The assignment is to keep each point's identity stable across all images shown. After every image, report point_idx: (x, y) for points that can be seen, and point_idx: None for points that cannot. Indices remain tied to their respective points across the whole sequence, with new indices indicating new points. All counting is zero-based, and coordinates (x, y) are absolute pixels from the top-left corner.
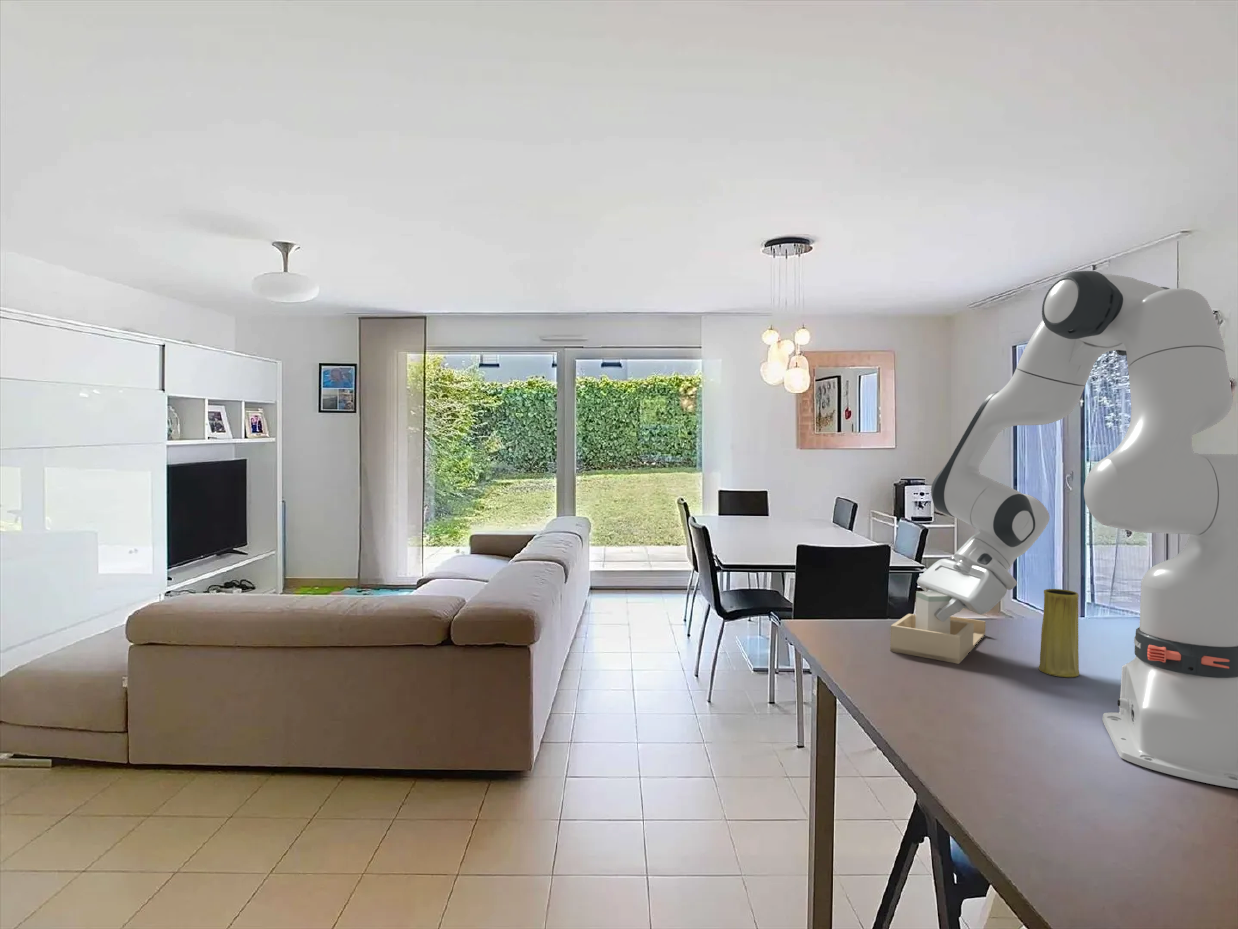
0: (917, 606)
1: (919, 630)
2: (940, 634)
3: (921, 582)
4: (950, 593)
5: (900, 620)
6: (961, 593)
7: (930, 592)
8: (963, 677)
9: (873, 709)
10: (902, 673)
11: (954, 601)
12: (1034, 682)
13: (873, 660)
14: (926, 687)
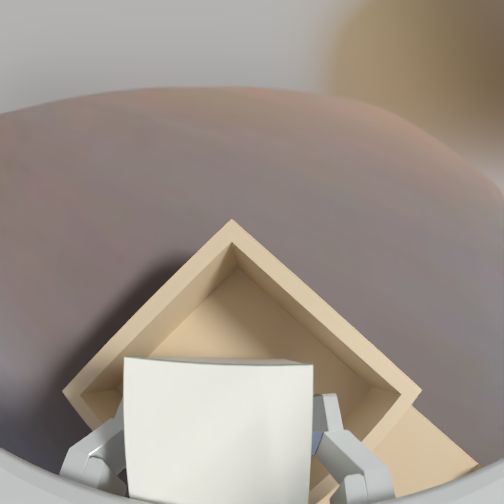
0: (280, 362)
1: (150, 298)
2: (100, 351)
3: (488, 473)
4: (93, 497)
5: (313, 300)
6: (6, 480)
7: (263, 459)
8: (32, 322)
9: (12, 119)
10: (79, 202)
11: (65, 464)
12: (8, 441)
13: (170, 176)
14: (19, 213)
